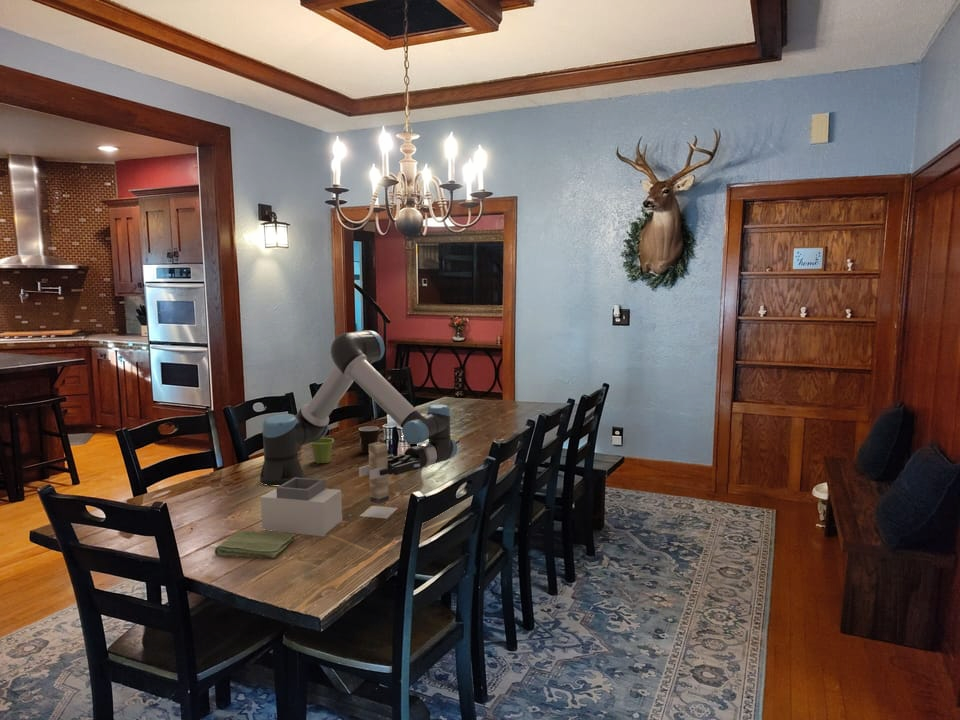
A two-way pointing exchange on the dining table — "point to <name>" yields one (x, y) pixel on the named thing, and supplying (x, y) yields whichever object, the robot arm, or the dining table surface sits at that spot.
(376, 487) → the beige tall cylinder
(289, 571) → the dining table surface
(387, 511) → the white paper sheet
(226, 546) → the washcloth
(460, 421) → the dining table surface
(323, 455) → the plant pot
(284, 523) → the switch box
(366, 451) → the coffee mug
